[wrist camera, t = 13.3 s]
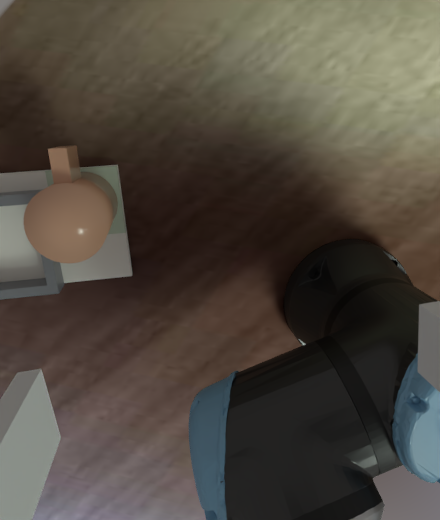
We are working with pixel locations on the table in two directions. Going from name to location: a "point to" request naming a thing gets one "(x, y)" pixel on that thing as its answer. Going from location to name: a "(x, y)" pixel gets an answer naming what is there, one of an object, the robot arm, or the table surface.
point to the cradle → (51, 268)
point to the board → (29, 259)
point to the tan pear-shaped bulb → (70, 210)
